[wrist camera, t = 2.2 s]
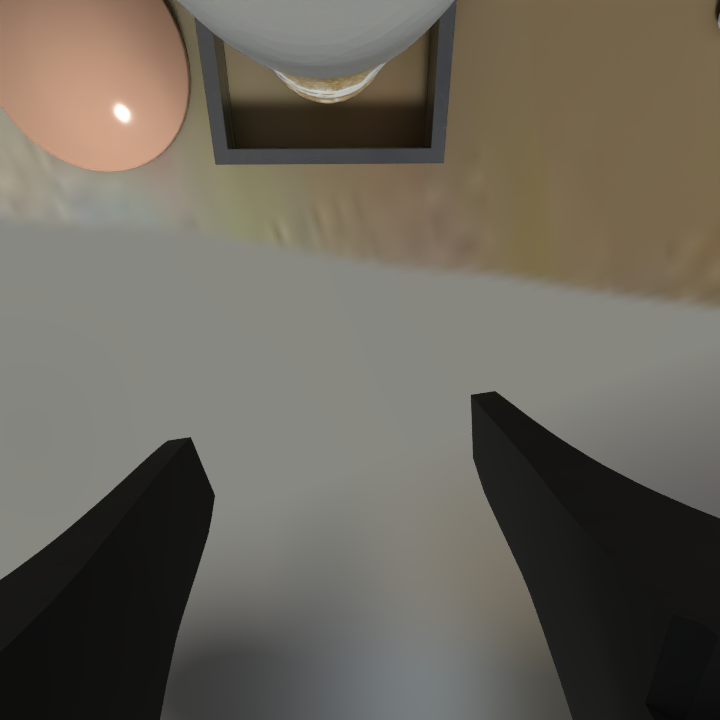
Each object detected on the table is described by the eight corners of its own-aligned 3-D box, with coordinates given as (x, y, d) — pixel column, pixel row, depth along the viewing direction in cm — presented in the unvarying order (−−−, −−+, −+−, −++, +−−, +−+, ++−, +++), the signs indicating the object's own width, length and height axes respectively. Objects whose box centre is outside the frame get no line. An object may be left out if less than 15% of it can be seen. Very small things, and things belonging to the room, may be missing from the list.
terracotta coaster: (169, -65, 14) (164, -71, 14) (205, 169, 18) (202, 170, 17) (-56, -69, 14) (-68, -75, 14) (23, 170, 17) (15, 172, 17)
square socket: (456, -133, 14) (469, -160, 13) (435, 160, 18) (443, 163, 17) (184, -139, 14) (168, -167, 12) (224, 161, 18) (215, 164, 16)
